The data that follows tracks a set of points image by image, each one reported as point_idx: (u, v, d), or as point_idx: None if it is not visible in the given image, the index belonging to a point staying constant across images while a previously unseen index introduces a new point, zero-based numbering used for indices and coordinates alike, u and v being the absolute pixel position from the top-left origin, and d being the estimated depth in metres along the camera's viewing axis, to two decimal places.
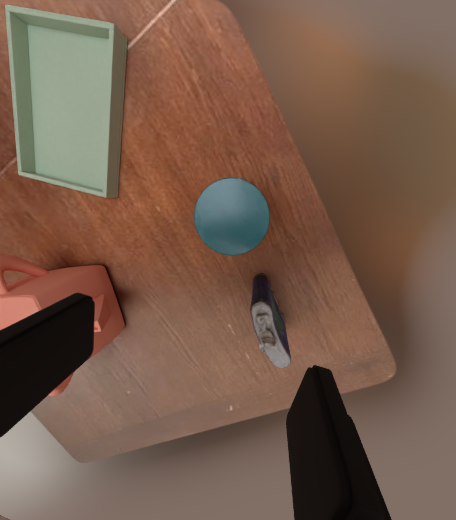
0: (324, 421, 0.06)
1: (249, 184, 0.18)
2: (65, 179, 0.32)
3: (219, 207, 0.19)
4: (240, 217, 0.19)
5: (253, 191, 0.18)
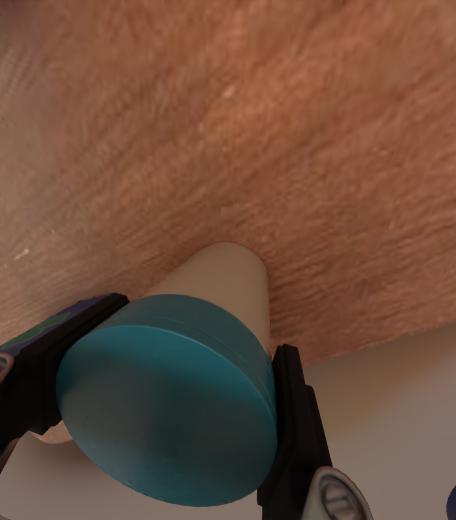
0: (283, 386, 0.07)
1: (254, 486, 0.06)
2: None
3: (186, 406, 0.06)
4: (163, 450, 0.06)
5: (235, 489, 0.06)
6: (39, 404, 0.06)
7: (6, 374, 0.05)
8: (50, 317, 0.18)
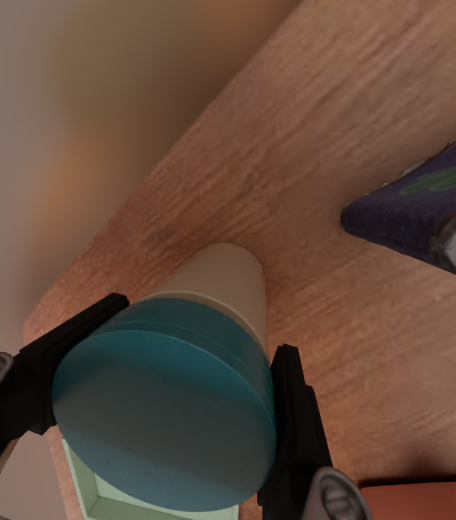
0: (283, 386, 0.07)
1: (255, 489, 0.06)
2: None
3: (185, 411, 0.06)
4: (163, 456, 0.06)
5: (236, 493, 0.06)
6: (39, 403, 0.06)
7: (6, 374, 0.05)
8: None
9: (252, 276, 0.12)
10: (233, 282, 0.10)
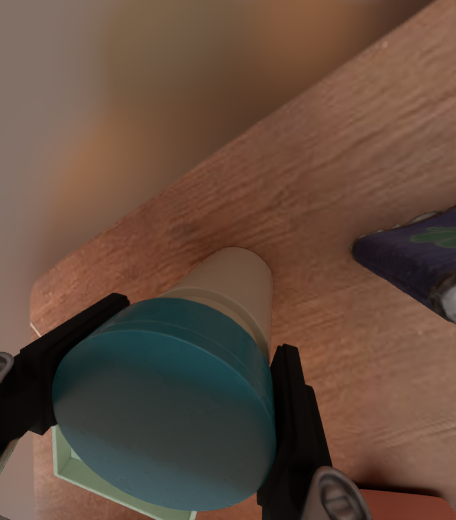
0: (283, 386, 0.07)
1: (255, 488, 0.06)
2: None
3: (184, 410, 0.06)
4: (163, 455, 0.06)
5: (236, 492, 0.06)
6: (39, 404, 0.06)
7: (6, 374, 0.05)
8: None
9: (265, 286, 0.13)
10: (251, 289, 0.11)
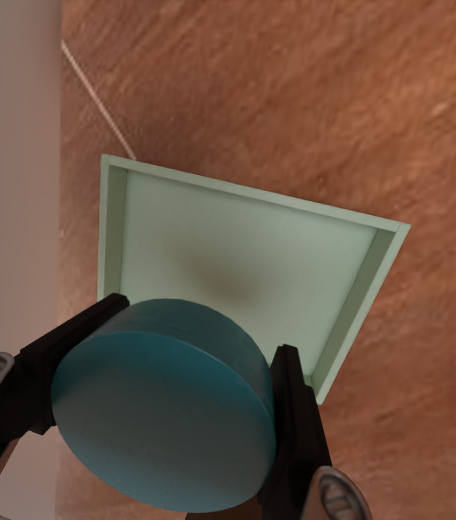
0: (282, 386, 0.07)
1: (255, 489, 0.06)
2: (331, 325, 0.16)
3: (184, 411, 0.06)
4: (162, 456, 0.06)
5: (236, 493, 0.06)
6: (39, 404, 0.06)
7: (6, 374, 0.05)
8: None
9: None
10: None
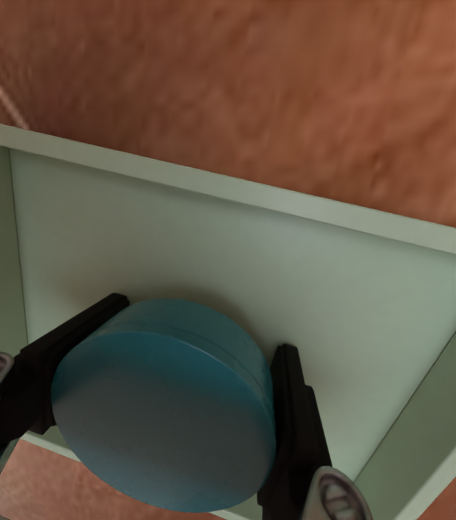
0: (283, 386, 0.07)
1: (255, 489, 0.06)
2: (384, 428, 0.09)
3: (184, 411, 0.06)
4: (162, 456, 0.06)
5: (236, 493, 0.06)
6: (39, 403, 0.06)
7: (6, 374, 0.05)
8: None
9: None
10: None
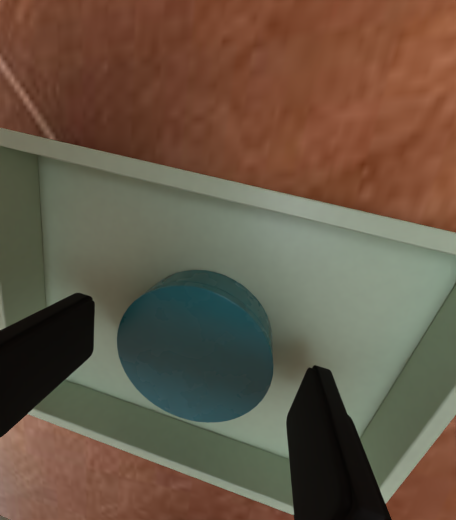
0: (324, 421, 0.06)
1: (258, 399, 0.09)
2: (373, 407, 0.10)
3: (211, 342, 0.08)
4: (194, 378, 0.09)
5: (245, 404, 0.09)
6: None
7: None
8: None
9: None
10: None
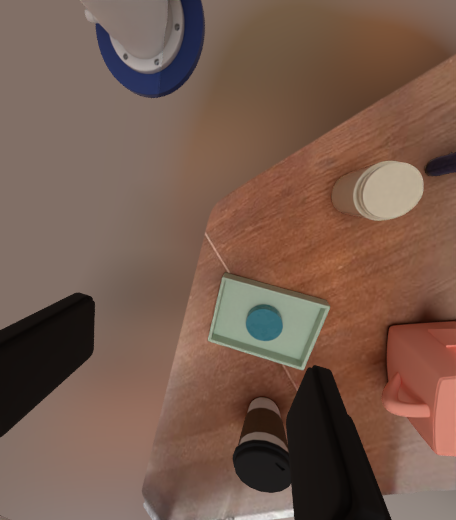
0: (324, 421, 0.06)
1: (279, 334, 0.39)
2: (307, 338, 0.41)
3: (269, 321, 0.39)
4: (264, 329, 0.39)
5: (276, 335, 0.39)
6: None
7: None
8: None
9: None
10: None
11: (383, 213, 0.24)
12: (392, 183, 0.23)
